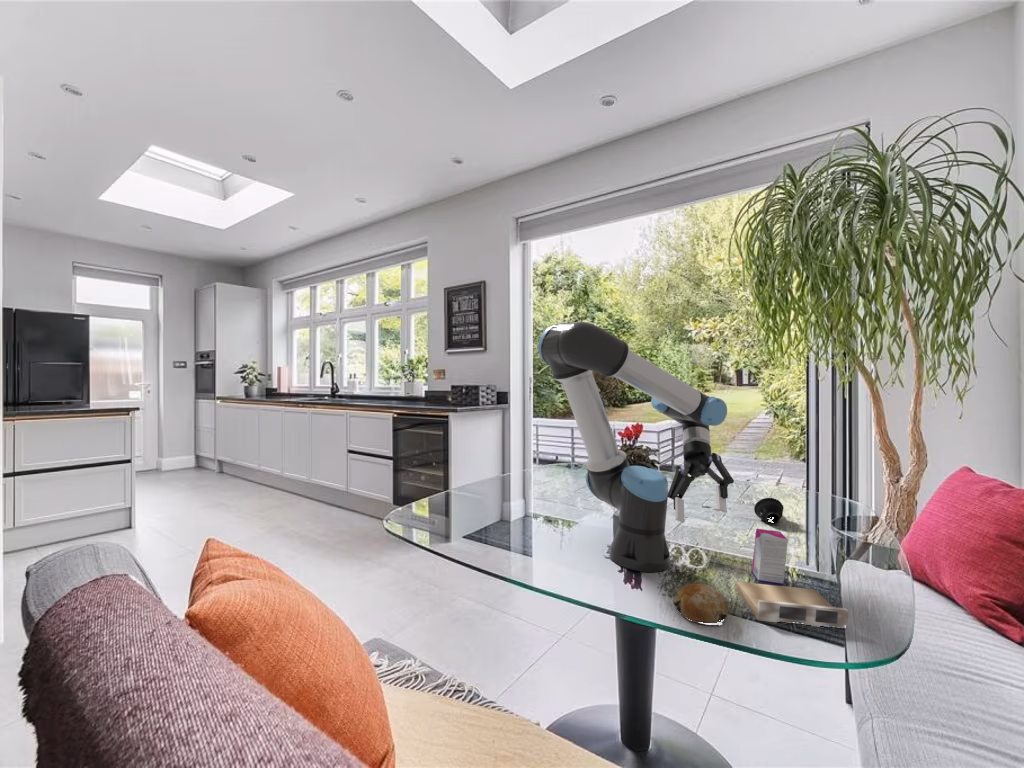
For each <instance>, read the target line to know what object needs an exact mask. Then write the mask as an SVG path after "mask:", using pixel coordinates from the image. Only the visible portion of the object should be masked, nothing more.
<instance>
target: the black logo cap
mask: <svg viewBox="0 0 1024 768" xmlns="http://www.w3.org/2000/svg"><path fill="white" fill-rule="evenodd" d="M753 509H754V510H753V511H754V514H755V515H756V517H757V518H760V520H762V521H763V522H764V521H765V522H764V523H767V522H768V521H767V518H770V517H771V518H770V519H772V517H774V519H773V520H772V521H773V522H774V523H770V522H768V524H770V525H776V524H778V523H779V522H780V520H781V519H782V518H783V513H784V505H783V503H782V502H781V500H779V499H777V498H774V497H764V498H761V499H760V500H758V501H756V503H755V505H754V508H753Z"/></svg>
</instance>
